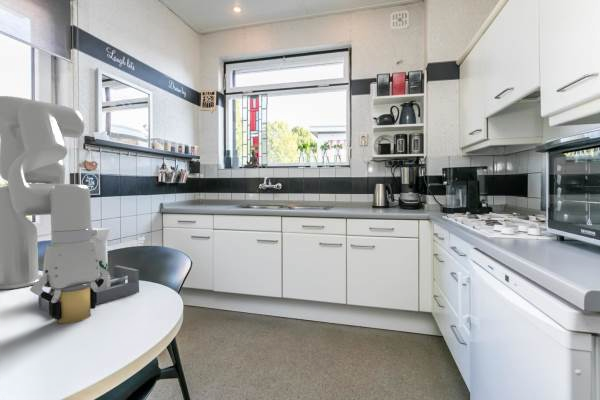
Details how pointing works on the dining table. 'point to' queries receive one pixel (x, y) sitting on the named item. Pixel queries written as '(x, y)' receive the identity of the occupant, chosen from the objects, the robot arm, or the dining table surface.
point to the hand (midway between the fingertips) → (74, 312)
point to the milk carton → (101, 246)
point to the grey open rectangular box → (115, 290)
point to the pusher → (110, 281)
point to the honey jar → (75, 303)
